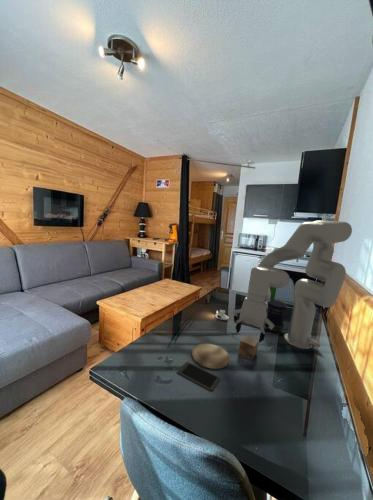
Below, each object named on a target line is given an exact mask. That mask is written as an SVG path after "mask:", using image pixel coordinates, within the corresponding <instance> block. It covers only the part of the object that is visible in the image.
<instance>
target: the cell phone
mask: <svg viewBox="0 0 373 500" xmlns="http://www.w3.org/2000/svg"><path fill="white" fill-rule="evenodd" d="M176 374H178V375H180V376H181V377H183V378H185V379H187V380H189V381H190V382H193V383H195V384H196V385H198V386H200V387H201V388H204V389H205V390H208V391H209V392H214V391H215V389H216V387H217V386H218V385H219V383H220V381H221V378H220V377H219V376H217V375H216V374H214V373H211V372H209V371H207V370H206V369H204V368H201V367H199V366H197V365H196V364H193V363H191V362H189V361H186V362H184V363H183V365H182V366H181V367H180V368H179V369H178V370H177V372H176Z"/></svg>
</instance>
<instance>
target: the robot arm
mask: <svg viewBox="0 0 373 500" xmlns="http://www.w3.org/2000/svg"><path fill="white" fill-rule="evenodd" d="M352 231H353V228H352V225H351V224H350V223H348V222H346V221H338V220H337V221H336V220H335V221H334V220H323V219H322V220H314V221H306V222H302V223H301V224H300V225H299V226H298V227H297V228H296V230H295V231H294V232H293V233H292V235H291V237H289V239H288V240H287V242H286V243H285V244H284V245H283V246H281V247H279V248H277V249H275V250H273V251H271V252H270V253H267V255H265V256H264V258H263V259H262V260H261V261H260V262H259V264H258V266H254V267H252V268H253V269H252V268H251V270H252V273H251V272H250V275H251V278H250V277H249V281H250V284H249V283H248V287H249V289H248V288H247V293H248V294H247V295H246V297H244V300H243V303H242V306H241V308H240V309H234V310H232V315H233V319H234V320H235V323H236V327H235V330H236V331H235V332H236V333H237V334H238V333H240V332H241V328H242V322H243V323H246V324H248V325H250V326H254V327H256V328H259V329H260V331H261V332H260V335H259V339H258V341H259V343H261V344H262V342H263V341H265V337H266V334H267V333H270V332H269V331H270V330H271V329H272V328H273V327H274V326H275V325H274V324H273V323H272V322H271V321H270V320H269V319H268V318H267V312H268V303H267V302H268V301H269V302H270V298H268V297H267V296H268V295H267V294H268V289H269V287H270V286H271V287H276V289H282V288H285V287H286V286H288V285H289V283H290V275H289V274H288V272H286V271H285V270H282V269H279V268H277V267H275V266H276V265H278V264H279V263H283V262H288V261H294V260H298V259H301V258H303V257H304V255H305V254H306V253H307V251H308V250H309V248H310V247H311V246H312V245H313V247H312V250H311V253H310V256H309V258H308V261H307V264H306V267H305V274H306V275H307V276H308V277H310V278H313V279H316V280H320V281H324V282H325V283H320V282H319V281H315V280H311V279H308V278H300V279H298V280H297V281H296V282H295V285H294V292H293V293H294V297H293V298H294V301H293V307H292V310H291V311H292V312H291V317H290V322H289V327H288V332H287V333H285V334H284V335H283V339H284V341H285V342H286V343H288V344H289V345H291V346H293V347H295V348H297V349H301V350H302V349H303V350H309V349H310V350H311V349H312V347H313V346H315V347H318V348H320V347H321V342H318V341H319V340H317V339H314V338H312V331H313V330H312V329H313V325H314V322H315V321H314V320H315V316H316V305H318V306H321V307H324V308H331V307H333V306H334V305H335V303H336V302H337V300H338V296H339V294H340V291H341V289H342V286H343V284H344V281H345V279H346V274H347V273H346V272H347V271H346V268H345V266H344V265H343V264H342V263H340V262H336V261H332V258H333V255H334V253H335V252H334V251H335V250H334V246H333V244H338V243H343V242H345V241H347V240H349V239H350V237H351V235H352ZM238 314H239V316H238ZM266 323H267V324H268V325H269V327H268V328H266V327H265V324H266Z"/></svg>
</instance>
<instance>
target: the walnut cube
mask: <svg viewBox="0 0 373 500" xmlns="http://www.w3.org/2000/svg"><path fill="white" fill-rule="evenodd" d="M259 343H260V342H259V339H256V338H254V337H251V336H248V335H246V334H245V335H244V336H243V337H242V338H241V339H240V341H239V346H238V347H239V348H238V353H239V354H238V355H240V354H242V355H244V356H243V357H245V356H247V357H249V358H251V359H253V360H254V358H255V357H256V355H257V354H256V353H258V347H259ZM255 354H256V355H255ZM242 355H241V356H242ZM254 356H255V357H254ZM247 357H246V358H247ZM249 358H248V359H249ZM251 359H250V360H251Z"/></svg>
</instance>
